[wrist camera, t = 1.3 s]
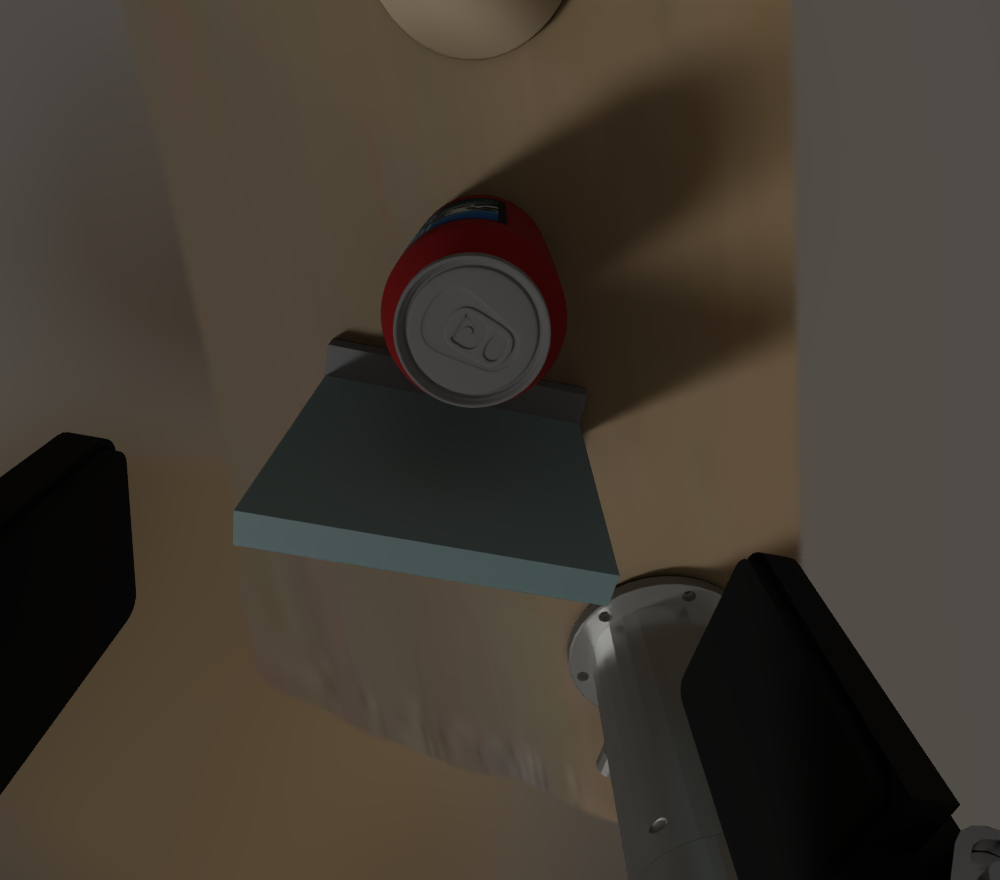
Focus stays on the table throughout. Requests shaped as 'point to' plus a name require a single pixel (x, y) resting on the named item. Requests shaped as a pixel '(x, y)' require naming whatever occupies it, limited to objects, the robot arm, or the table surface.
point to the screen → (435, 484)
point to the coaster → (471, 24)
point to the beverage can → (475, 304)
